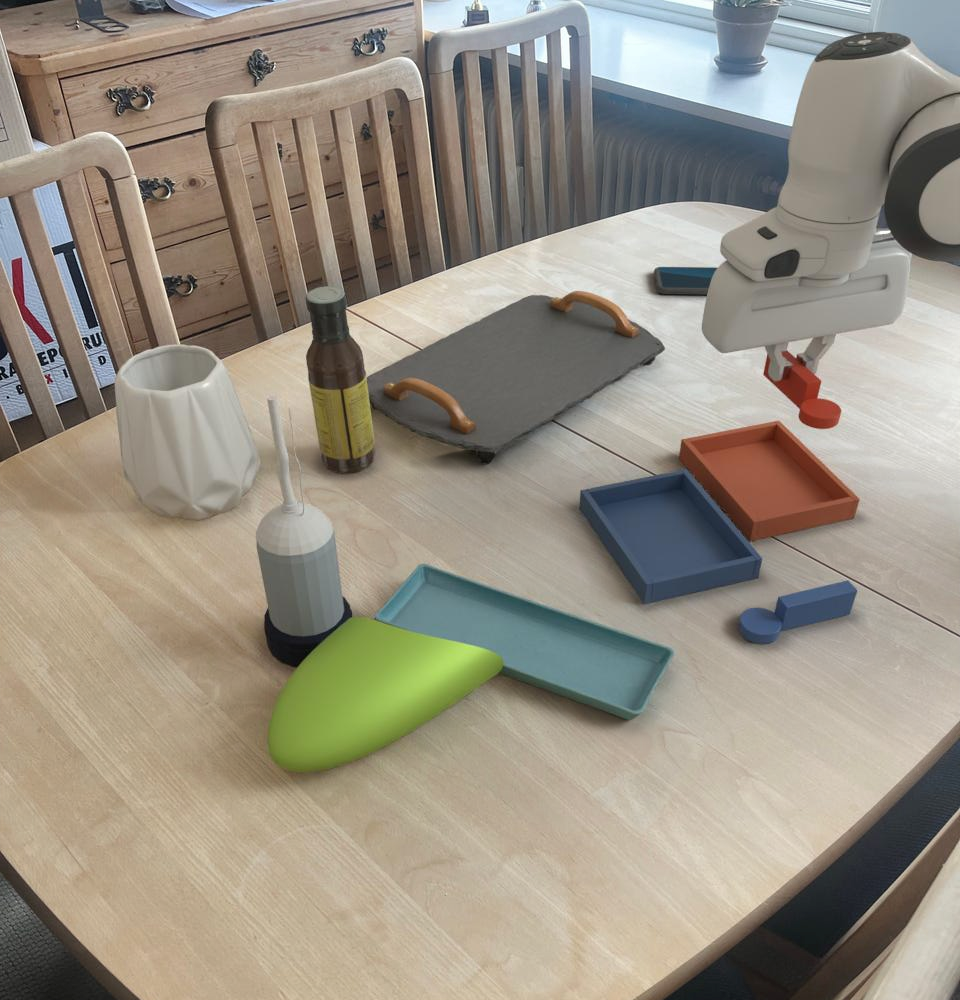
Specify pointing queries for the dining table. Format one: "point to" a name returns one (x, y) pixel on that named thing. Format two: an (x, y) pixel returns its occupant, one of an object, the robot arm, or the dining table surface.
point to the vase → (183, 433)
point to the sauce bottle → (338, 385)
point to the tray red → (767, 480)
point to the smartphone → (683, 279)
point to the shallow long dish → (532, 640)
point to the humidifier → (297, 567)
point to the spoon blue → (797, 611)
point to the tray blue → (668, 536)
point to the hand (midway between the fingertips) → (791, 375)
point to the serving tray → (512, 371)
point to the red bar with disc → (806, 395)
